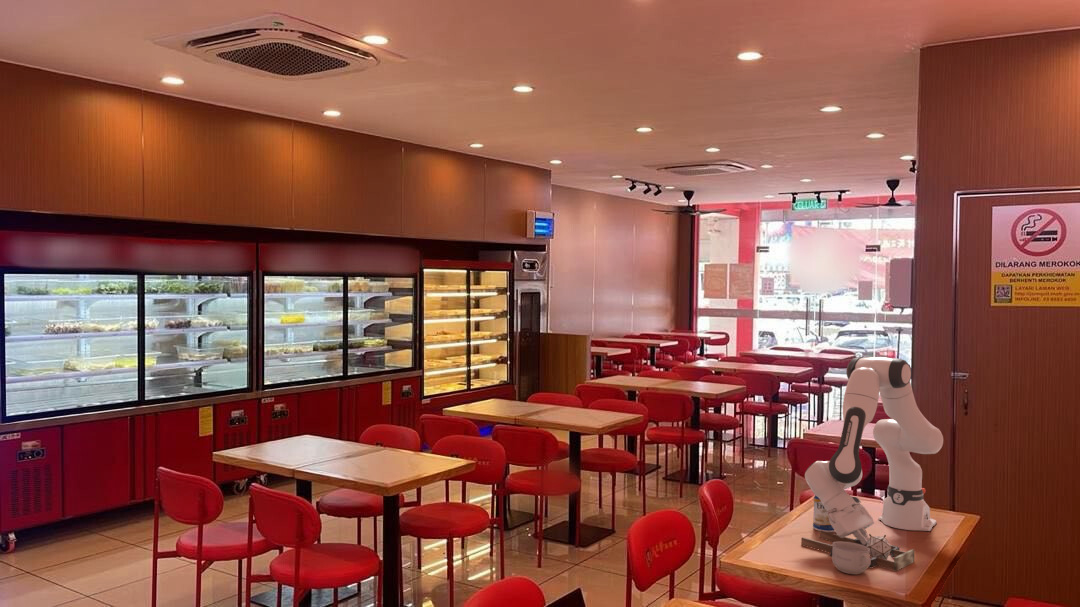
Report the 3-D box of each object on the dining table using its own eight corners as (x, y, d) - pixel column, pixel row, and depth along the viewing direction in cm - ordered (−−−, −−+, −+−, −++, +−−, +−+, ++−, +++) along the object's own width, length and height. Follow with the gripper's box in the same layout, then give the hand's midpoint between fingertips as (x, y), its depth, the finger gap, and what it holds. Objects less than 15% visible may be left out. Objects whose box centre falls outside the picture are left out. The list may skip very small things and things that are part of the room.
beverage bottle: (834, 527, 295) (836, 473, 294) (839, 533, 286) (841, 478, 286) (810, 525, 296) (812, 471, 296) (814, 531, 288) (816, 476, 288)
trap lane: (825, 535, 284) (826, 524, 283) (918, 559, 260) (919, 547, 260) (796, 547, 269) (796, 535, 269) (891, 573, 246) (892, 560, 246)
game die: (882, 573, 257) (890, 555, 251) (856, 558, 261) (863, 540, 255) (893, 555, 262) (901, 536, 256) (867, 540, 267) (875, 522, 260)
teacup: (825, 565, 252) (826, 539, 252) (858, 565, 253) (859, 540, 253) (846, 581, 238) (847, 554, 238) (881, 581, 239) (882, 554, 239)
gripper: (832, 506, 260) (859, 543, 253) (860, 497, 274) (888, 532, 267) (818, 516, 264) (845, 554, 257) (847, 507, 277) (874, 542, 270)
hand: (867, 543), depth 262 cm, fingers closed, pressing on game die
